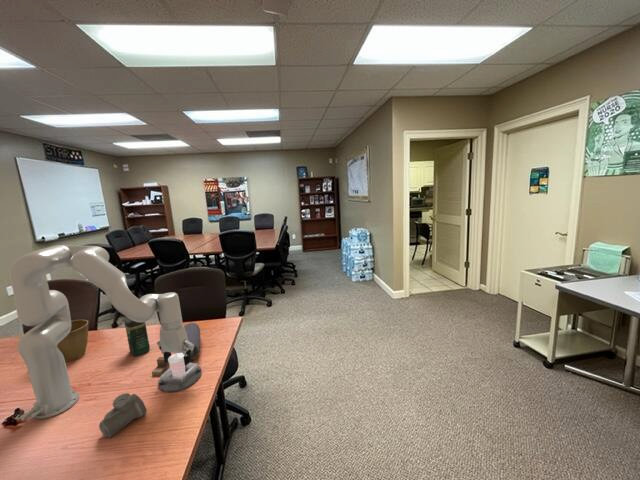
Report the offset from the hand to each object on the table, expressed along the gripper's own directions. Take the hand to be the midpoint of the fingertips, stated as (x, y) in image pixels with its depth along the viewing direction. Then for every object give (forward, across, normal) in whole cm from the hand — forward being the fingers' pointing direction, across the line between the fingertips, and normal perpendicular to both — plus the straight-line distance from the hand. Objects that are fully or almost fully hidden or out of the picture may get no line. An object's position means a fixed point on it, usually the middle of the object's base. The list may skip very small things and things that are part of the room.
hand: (178, 362), depth 114 cm
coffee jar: (+8, -36, +14) cm, 39 cm away
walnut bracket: (+8, -12, +3) cm, 15 cm away
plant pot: (+8, -65, +4) cm, 66 cm away
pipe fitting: (+8, -2, -24) cm, 25 cm away
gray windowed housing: (+8, 0, 0) cm, 8 cm away
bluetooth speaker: (+8, -10, +19) cm, 23 cm away
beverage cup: (+7, 0, 0) cm, 7 cm away
